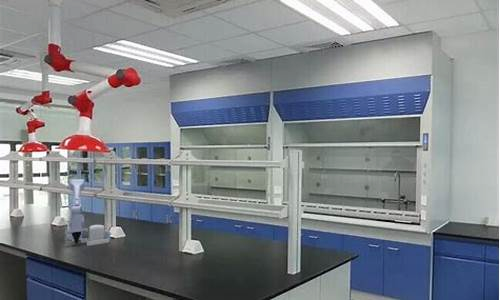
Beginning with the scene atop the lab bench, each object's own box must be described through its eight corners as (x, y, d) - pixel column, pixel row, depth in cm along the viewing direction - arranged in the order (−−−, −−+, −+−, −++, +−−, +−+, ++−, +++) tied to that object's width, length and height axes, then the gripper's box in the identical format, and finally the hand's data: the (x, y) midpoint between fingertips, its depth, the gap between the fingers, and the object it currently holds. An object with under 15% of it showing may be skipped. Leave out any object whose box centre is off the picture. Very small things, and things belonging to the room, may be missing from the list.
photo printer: (103, 241, 274) (103, 223, 274) (104, 242, 270) (104, 224, 270) (88, 242, 268) (88, 225, 269) (89, 243, 265) (89, 226, 265)
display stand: (81, 242, 268) (81, 232, 268) (103, 239, 279) (103, 229, 279) (87, 245, 259) (87, 235, 259) (110, 242, 270) (110, 232, 270)
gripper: (67, 225, 252) (67, 246, 252) (89, 222, 262) (89, 242, 262) (63, 224, 257) (63, 244, 257) (85, 221, 268) (85, 240, 267)
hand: (76, 243), depth 260 cm, fingers closed
